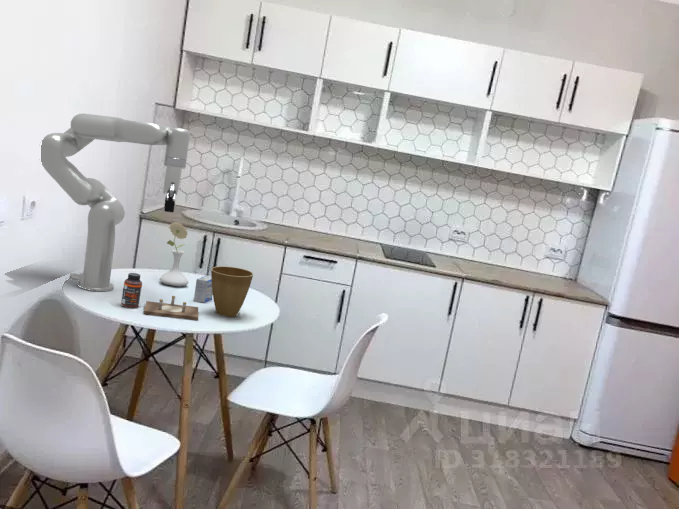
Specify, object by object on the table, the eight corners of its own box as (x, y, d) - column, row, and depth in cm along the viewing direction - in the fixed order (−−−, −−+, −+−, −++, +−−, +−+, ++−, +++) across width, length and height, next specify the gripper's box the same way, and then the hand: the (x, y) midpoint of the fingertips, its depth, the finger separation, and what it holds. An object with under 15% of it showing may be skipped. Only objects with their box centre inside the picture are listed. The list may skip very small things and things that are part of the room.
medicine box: (204, 303, 256) (207, 280, 255) (193, 300, 257) (196, 278, 256) (212, 299, 264) (215, 277, 263) (201, 297, 265) (204, 275, 264)
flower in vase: (193, 287, 277) (202, 226, 274) (170, 288, 269) (178, 226, 265) (174, 279, 286) (182, 220, 282) (150, 280, 277) (159, 219, 273)
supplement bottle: (122, 308, 232) (126, 275, 230) (119, 303, 237) (123, 271, 235) (140, 308, 235) (144, 276, 233) (137, 304, 240) (141, 272, 238)
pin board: (143, 314, 229) (145, 301, 228) (145, 304, 241) (147, 291, 240) (197, 320, 233) (199, 307, 232) (197, 310, 245) (199, 297, 245)
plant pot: (225, 306, 257) (231, 265, 255) (254, 317, 249) (261, 274, 247) (196, 310, 245) (202, 266, 243) (226, 322, 237) (233, 277, 235)
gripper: (164, 159, 252) (158, 205, 255) (164, 162, 236) (157, 211, 238) (185, 162, 254) (178, 208, 257) (186, 166, 238) (179, 214, 241)
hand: (168, 210), depth 248 cm, fingers open, 9 cm apart
